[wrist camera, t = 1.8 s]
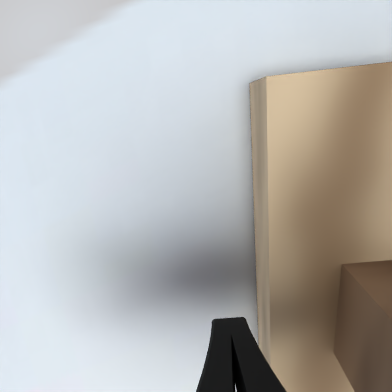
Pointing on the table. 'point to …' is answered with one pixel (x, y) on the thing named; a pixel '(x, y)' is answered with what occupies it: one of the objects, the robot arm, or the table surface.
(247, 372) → the robot arm
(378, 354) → the walnut block
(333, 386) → the board
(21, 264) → the table surface
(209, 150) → the table surface
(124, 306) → the table surface
